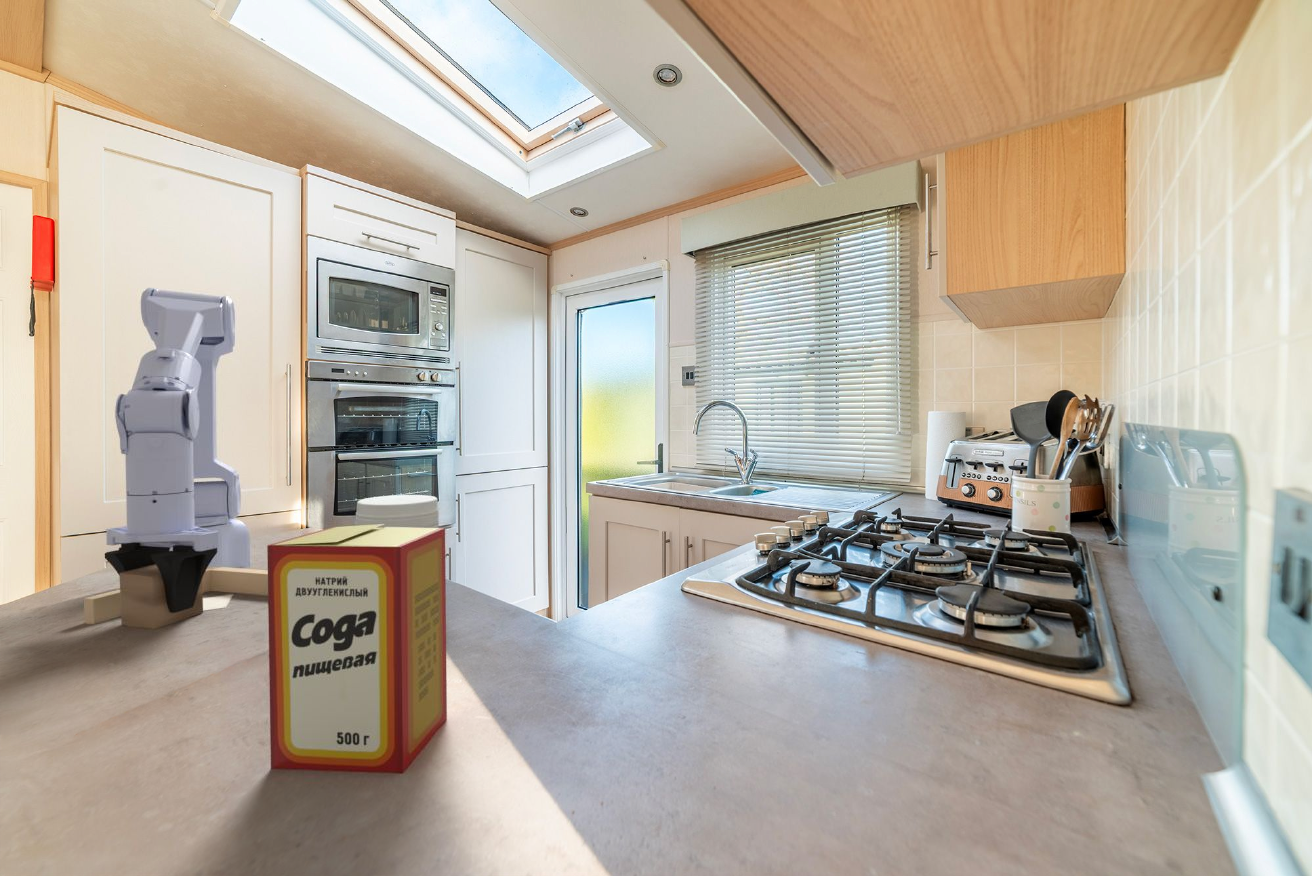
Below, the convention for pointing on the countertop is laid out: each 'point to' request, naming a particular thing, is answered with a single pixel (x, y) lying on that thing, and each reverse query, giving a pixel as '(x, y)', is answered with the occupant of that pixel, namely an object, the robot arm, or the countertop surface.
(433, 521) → the supplement tub
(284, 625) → the baking soda box
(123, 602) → the walnut block
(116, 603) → the corner board
